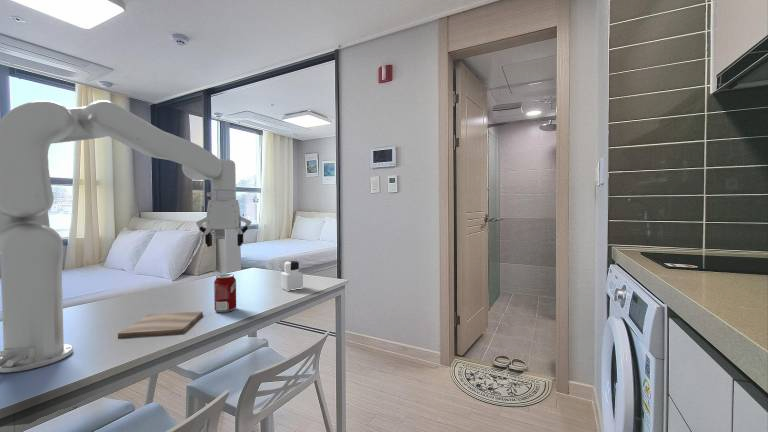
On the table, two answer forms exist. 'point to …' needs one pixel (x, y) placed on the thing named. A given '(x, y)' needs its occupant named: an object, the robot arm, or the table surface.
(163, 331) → the walnut board
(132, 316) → the table surface
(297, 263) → the white security camera
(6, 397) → the table surface
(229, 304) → the soda can
